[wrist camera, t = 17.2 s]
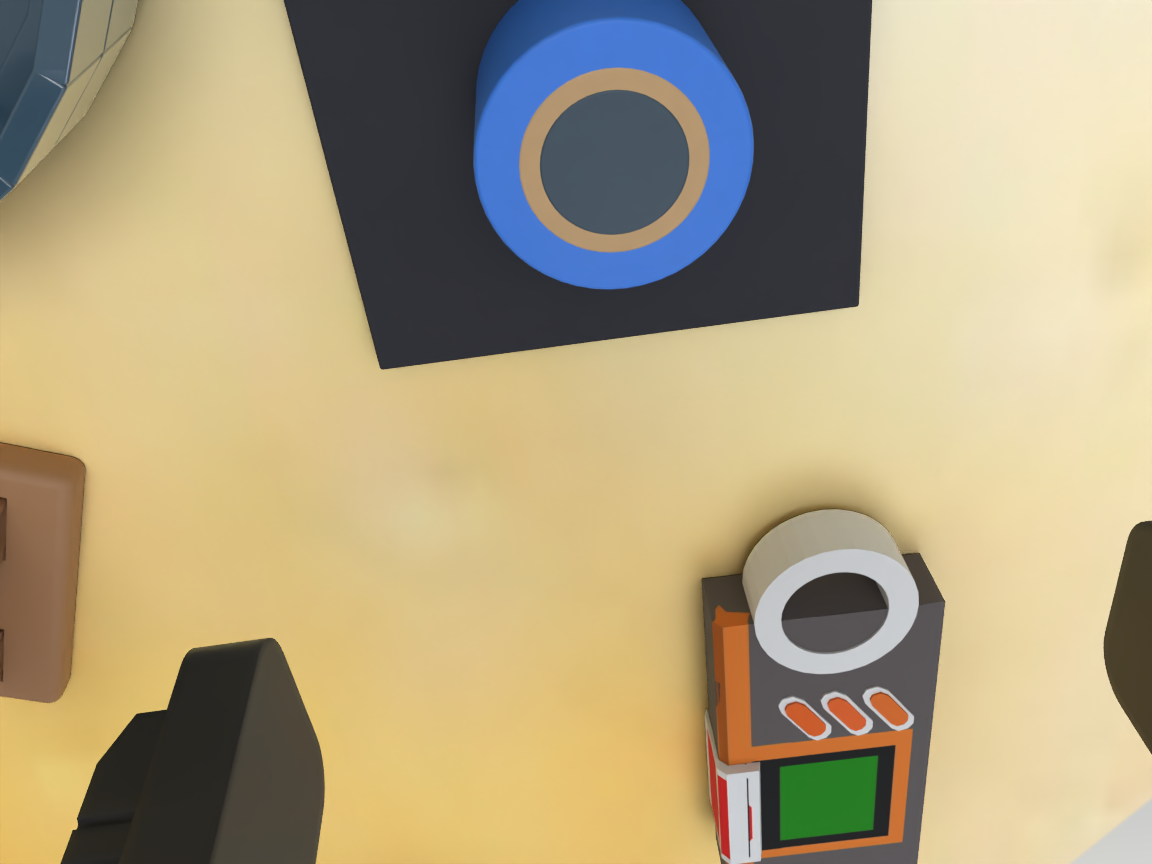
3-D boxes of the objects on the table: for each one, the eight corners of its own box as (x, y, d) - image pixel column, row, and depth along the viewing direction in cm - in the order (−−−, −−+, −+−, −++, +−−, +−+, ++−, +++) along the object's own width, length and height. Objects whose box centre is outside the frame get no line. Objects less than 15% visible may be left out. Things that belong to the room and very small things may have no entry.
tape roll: (496, 224, 24) (497, 308, 21) (456, -14, 21) (449, 40, 18) (721, 193, 24) (757, 273, 21) (711, -50, 21) (752, -2, 18)
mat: (382, 360, 27) (380, 370, 26) (241, -182, 20) (236, -179, 19) (853, 297, 27) (859, 307, 26) (876, -272, 20) (885, -271, 19)
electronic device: (956, 542, 28) (919, 884, 36) (920, 480, 31) (892, 813, 39) (706, 572, 28) (724, 907, 36) (690, 507, 31) (710, 834, 39)
